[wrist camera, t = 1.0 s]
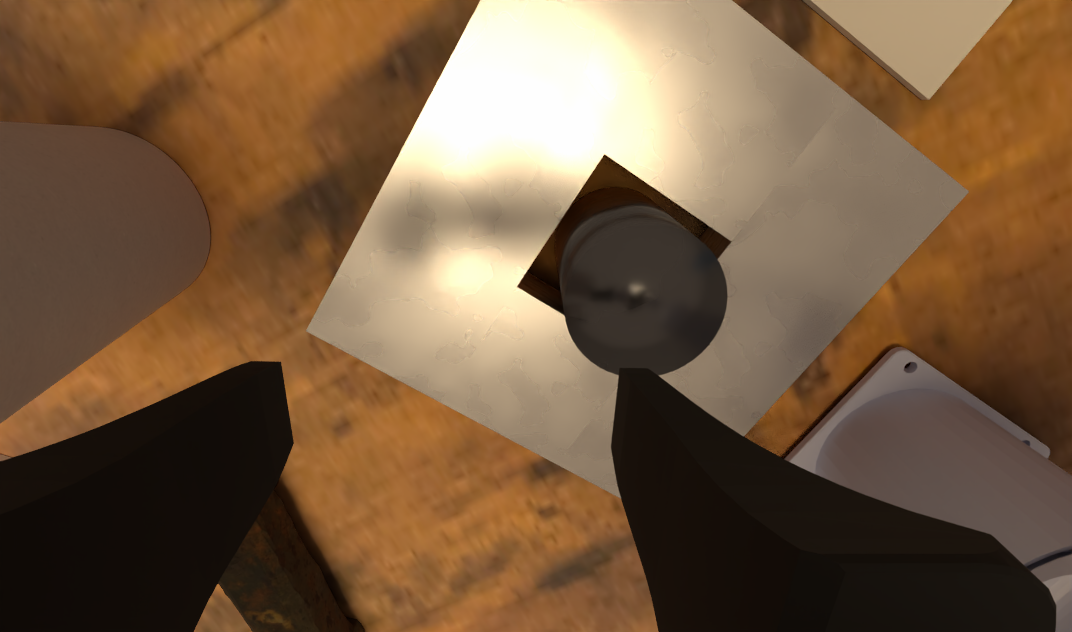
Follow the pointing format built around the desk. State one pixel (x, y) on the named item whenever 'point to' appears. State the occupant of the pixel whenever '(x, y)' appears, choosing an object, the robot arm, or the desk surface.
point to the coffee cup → (85, 246)
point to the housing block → (659, 160)
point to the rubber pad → (913, 34)
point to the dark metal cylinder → (636, 283)
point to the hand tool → (281, 580)
